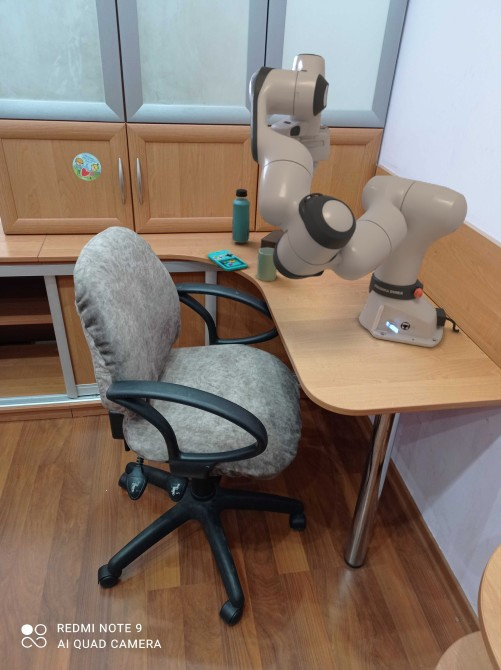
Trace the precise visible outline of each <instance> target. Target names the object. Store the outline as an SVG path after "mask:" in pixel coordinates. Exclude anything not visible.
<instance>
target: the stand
mask: <svg viewBox="0 0 501 670" xmlns="http://www.w3.org/2000/svg"><path fill="white" fill-rule="evenodd" d="M284 233H285V232H283V230H280V229H273V230H272V231H270V232H269V233H267V234H266V235H265V236H264V237H262V238H261V239H260V249H261V248H273V249H274V248H275V246H276V243H277V242H278V240H279V239H280V238H281V237H282V236H283V235H284Z"/></svg>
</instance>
